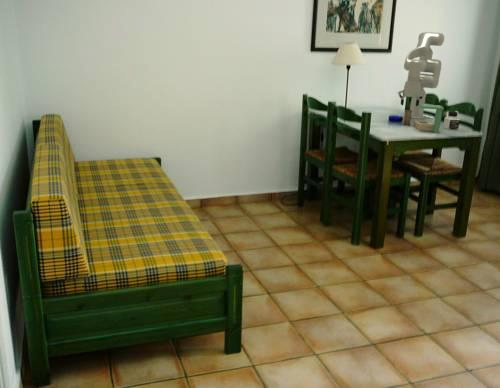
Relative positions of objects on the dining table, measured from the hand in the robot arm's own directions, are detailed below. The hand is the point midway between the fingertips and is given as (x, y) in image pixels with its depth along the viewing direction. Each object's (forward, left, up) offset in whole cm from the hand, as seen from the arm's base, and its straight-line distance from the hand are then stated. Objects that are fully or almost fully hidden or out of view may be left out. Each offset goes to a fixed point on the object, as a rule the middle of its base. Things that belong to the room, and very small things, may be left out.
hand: (409, 105), depth 352 cm
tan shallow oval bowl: (+8, +9, -13) cm, 18 cm away
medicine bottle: (+4, +28, -14) cm, 32 cm away
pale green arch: (+16, +10, -13) cm, 23 cm away
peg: (-1, 0, -13) cm, 13 cm away
